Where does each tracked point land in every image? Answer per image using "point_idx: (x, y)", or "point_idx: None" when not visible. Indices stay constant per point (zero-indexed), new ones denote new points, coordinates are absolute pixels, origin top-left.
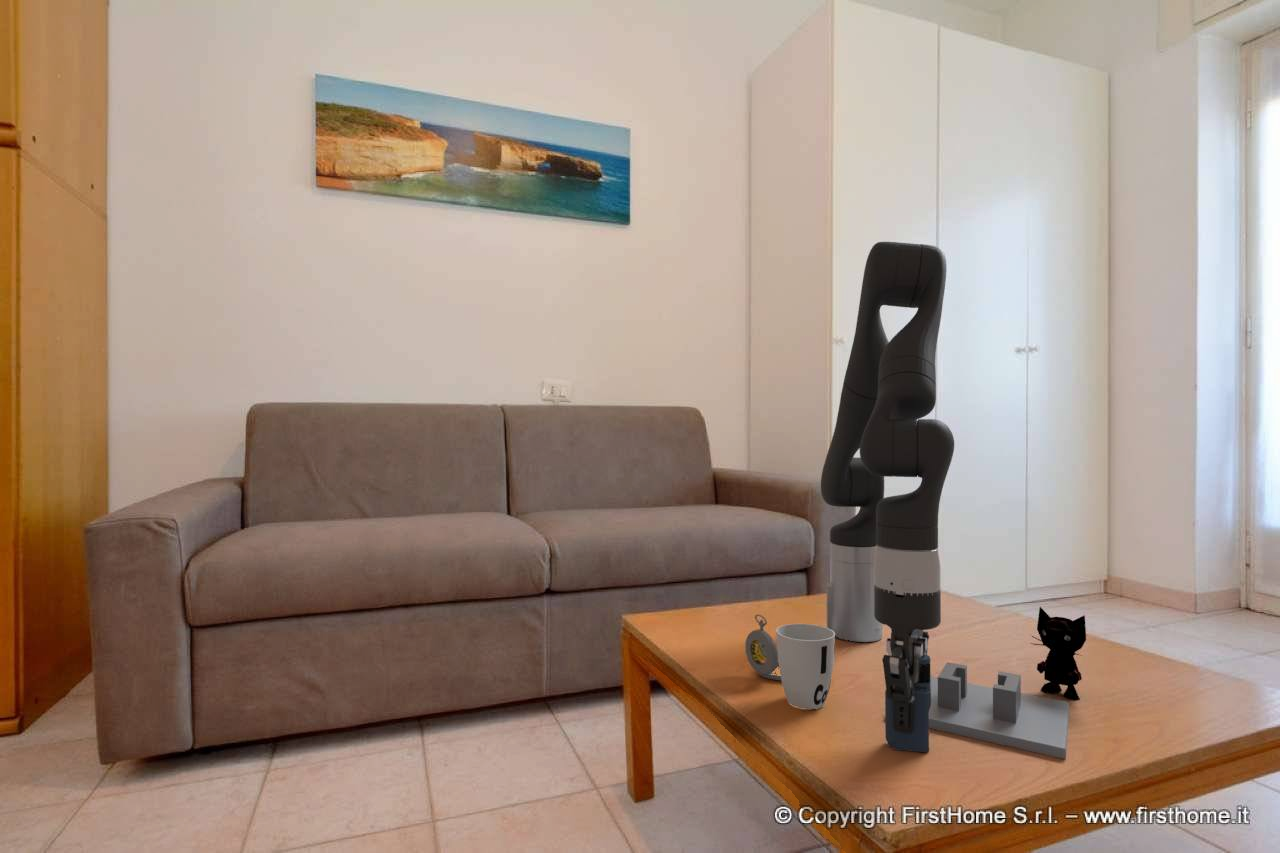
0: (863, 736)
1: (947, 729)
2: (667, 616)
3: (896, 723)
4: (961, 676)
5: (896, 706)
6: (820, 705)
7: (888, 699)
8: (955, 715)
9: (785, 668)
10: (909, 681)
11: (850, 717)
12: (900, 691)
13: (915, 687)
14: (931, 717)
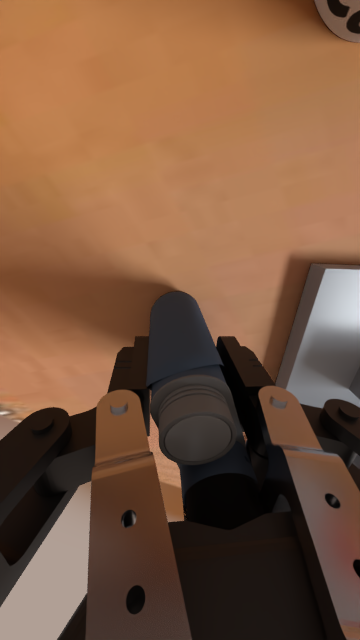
0: (185, 232)
1: (281, 373)
2: None
3: (118, 356)
4: None
5: (109, 391)
6: (339, 27)
7: (152, 361)
8: (326, 387)
9: None
10: (16, 577)
11: (290, 167)
12: (37, 483)
13: (182, 471)
14: (303, 356)
